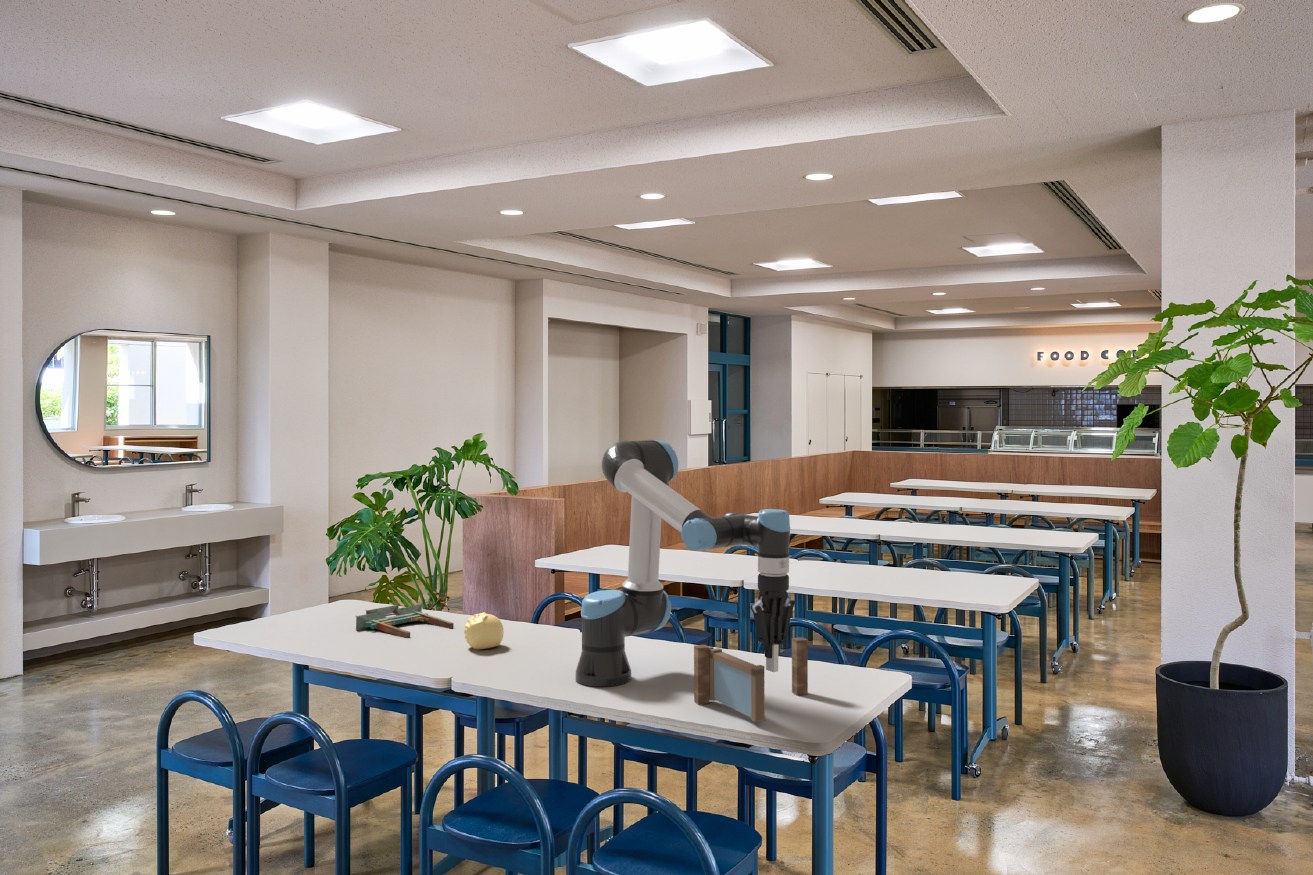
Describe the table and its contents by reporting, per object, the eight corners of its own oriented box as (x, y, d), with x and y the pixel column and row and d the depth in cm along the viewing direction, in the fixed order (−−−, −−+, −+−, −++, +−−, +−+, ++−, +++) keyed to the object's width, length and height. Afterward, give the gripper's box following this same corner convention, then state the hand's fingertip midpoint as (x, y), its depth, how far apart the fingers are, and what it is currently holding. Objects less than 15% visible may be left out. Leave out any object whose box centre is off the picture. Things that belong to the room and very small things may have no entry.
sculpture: (462, 644, 300) (462, 610, 300) (501, 641, 303) (501, 608, 303) (465, 653, 289) (465, 617, 289) (505, 650, 292) (505, 615, 292)
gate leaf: (709, 699, 236) (709, 649, 235) (719, 697, 237) (718, 648, 237) (755, 721, 218) (754, 667, 218) (764, 719, 219) (764, 666, 219)
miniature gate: (396, 629, 306) (343, 611, 325) (396, 646, 306) (343, 627, 325) (463, 616, 327) (409, 599, 346) (462, 632, 327) (409, 614, 346)
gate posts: (698, 704, 235) (697, 648, 235) (694, 701, 238) (693, 645, 238) (807, 694, 243) (807, 639, 243) (802, 691, 246) (802, 637, 246)
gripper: (764, 578, 224) (762, 678, 224) (803, 573, 231) (802, 669, 232) (742, 573, 230) (741, 671, 230) (782, 568, 237) (780, 662, 238)
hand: (772, 670), depth 231 cm, fingers closed
